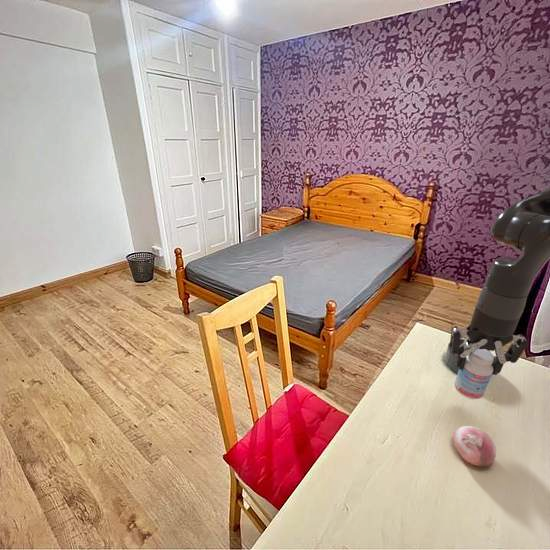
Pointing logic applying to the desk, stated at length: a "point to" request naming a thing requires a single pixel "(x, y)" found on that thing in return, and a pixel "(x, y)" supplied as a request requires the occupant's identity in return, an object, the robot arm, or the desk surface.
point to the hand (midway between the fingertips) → (475, 369)
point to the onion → (474, 445)
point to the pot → (452, 357)
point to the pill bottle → (475, 374)
